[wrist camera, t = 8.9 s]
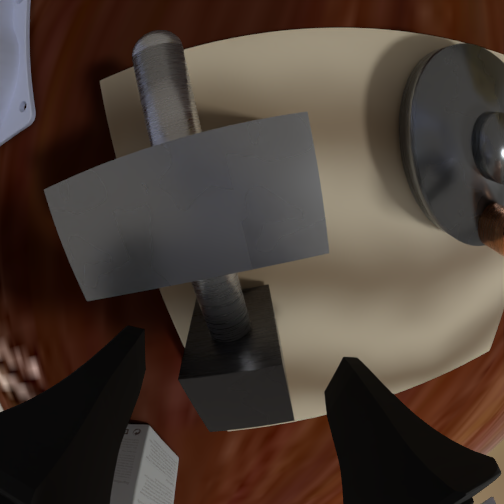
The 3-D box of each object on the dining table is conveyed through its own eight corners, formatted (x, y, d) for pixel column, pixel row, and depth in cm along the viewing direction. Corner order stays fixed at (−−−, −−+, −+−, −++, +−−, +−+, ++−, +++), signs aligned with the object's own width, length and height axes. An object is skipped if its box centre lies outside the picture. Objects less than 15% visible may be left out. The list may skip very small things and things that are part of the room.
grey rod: (133, 67, 8) (68, 34, 4) (214, 42, 8) (196, -17, 4) (216, 351, 13) (209, 431, 9) (280, 339, 13) (294, 420, 9)
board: (110, 84, 9) (99, 81, 8) (497, 57, 8) (509, 56, 7) (227, 419, 17) (227, 431, 16) (482, 342, 16) (489, 350, 15)
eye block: (118, 164, 10) (43, 189, 5) (277, 122, 9) (307, 111, 5) (140, 237, 11) (87, 301, 6) (293, 202, 10) (329, 253, 6)
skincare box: (104, 420, 17) (68, 547, 6) (150, 422, 17) (123, 567, 6) (139, 456, 20) (120, 563, 9) (181, 458, 20) (170, 575, 9)
